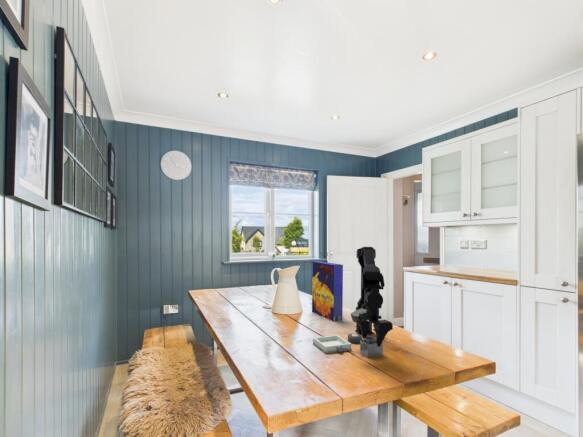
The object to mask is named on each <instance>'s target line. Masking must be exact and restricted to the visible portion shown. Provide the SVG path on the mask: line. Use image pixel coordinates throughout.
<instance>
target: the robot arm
mask: <svg viewBox="0 0 583 437" xmlns="http://www.w3.org/2000/svg"><path fill="white" fill-rule="evenodd" d="M376 252H377V250H376V249H375V247H373V246H362V247H360V248H357V249H356V254H355V255H356V259H357V262H358V264H359V266H360V298H359V299H358V301H357V304H356V306H355V310H354V311H353V312H351V313H350V316H351V320H352V322H353V323H356V326H355V327H356V329H355V330H354V331H355V332H356V333H357V334H360V335H361V336H362V340H365V338H366V337H368V335H374V334H375V337H376V339H377V346H378V347H380V346H381V344H382V342H383V343H384V340H385V338H386V336H387V334H388V333H389V332H391V331H392V330H393V329H394V324H393V323H392V321H389V320H386V319H382V315H380V309H382V305H383V304H384V298H383V296H382V295H381V292H380V290H384V287H385V278H384V275H383V273H382V272H381V269H380V267H378V266H377V265H376V262H375V261H376V260H375V259H376V258H377V254H376Z"/></svg>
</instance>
